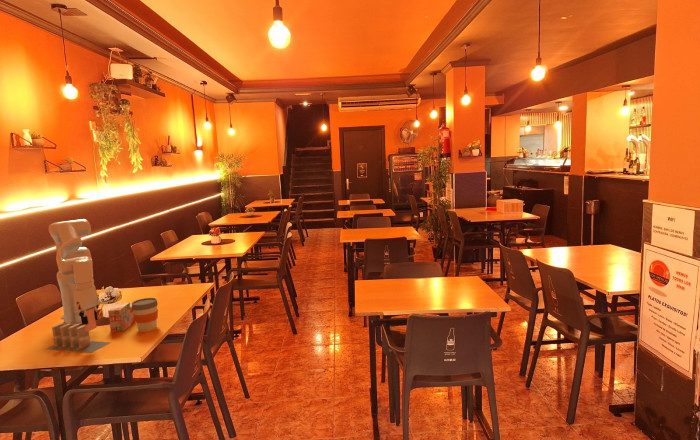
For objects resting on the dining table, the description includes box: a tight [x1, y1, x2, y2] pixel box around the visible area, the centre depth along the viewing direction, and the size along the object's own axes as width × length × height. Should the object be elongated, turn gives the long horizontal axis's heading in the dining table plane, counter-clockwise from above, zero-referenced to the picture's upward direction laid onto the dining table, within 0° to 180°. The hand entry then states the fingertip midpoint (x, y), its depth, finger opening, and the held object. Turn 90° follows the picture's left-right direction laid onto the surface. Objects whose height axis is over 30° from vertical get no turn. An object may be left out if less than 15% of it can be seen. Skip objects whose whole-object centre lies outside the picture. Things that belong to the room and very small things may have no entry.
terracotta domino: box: [83, 308, 97, 332], centre depth 221 cm, size 2×5×10 cm, turn 164°
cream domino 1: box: [51, 322, 64, 347], centre depth 228 cm, size 2×5×10 cm, turn 165°
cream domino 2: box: [60, 324, 72, 347], centre depth 227 cm, size 2×5×10 cm, turn 165°
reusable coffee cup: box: [131, 297, 159, 333], centre depth 244 cm, size 13×12×15 cm
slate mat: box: [45, 340, 112, 354], centre depth 226 cm, size 28×12×1 cm, turn 74°
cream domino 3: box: [68, 324, 81, 348], centre depth 225 cm, size 2×5×10 cm, turn 165°
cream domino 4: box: [77, 324, 91, 348], centre depth 224 cm, size 2×5×10 cm, turn 165°
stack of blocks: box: [107, 302, 136, 333], centre depth 252 cm, size 21×6×12 cm, turn 2°
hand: (89, 321), depth 221 cm, fingers closed on terracotta domino, 4 cm apart
